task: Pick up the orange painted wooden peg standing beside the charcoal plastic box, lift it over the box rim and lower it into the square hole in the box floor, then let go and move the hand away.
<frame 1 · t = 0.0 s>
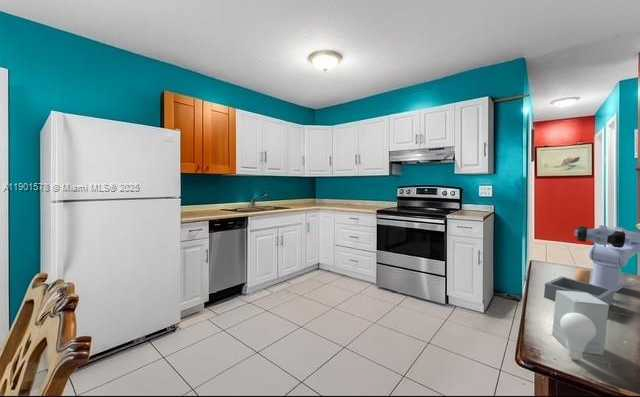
hand: (593, 236, 98), 22 cm above the table, tool horizontal, fingers open, 7 cm apart
supplement box: (575, 345, 71), on the table
peg: (580, 291, 105), on the table
box: (577, 300, 97), on the table
lightbulb: (573, 360, 66), on the table
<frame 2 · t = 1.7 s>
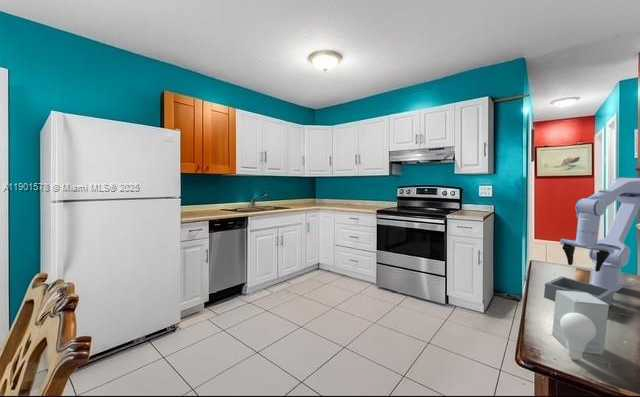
hand: (583, 267, 104), 9 cm above the table, tool pointing down, fingers open, 7 cm apart
nothing on the table moved.
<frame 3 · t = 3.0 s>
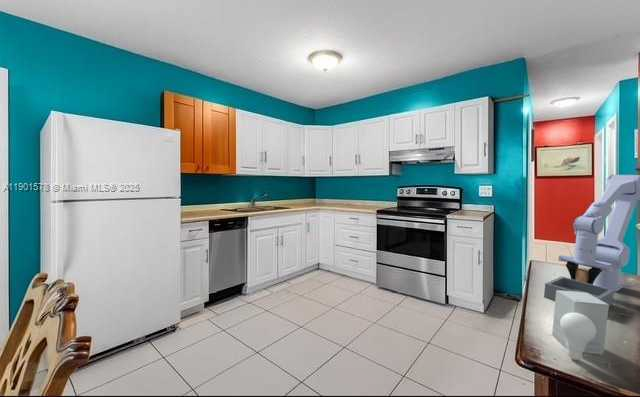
hand: (581, 284, 105), 2 cm above the table, tool pointing down, fingers closed on peg, 4 cm apart
peg: (580, 291, 105), on the table, touching gripper
everything else where it was.
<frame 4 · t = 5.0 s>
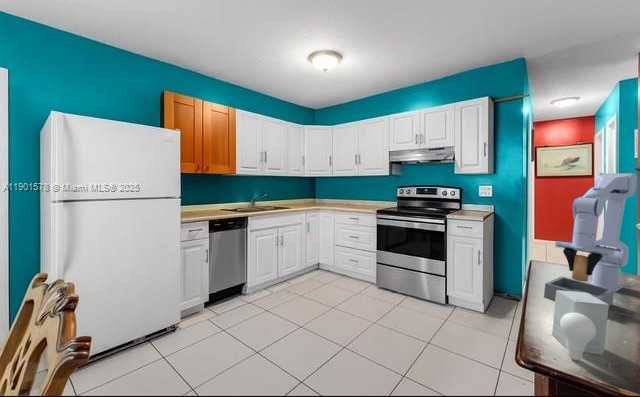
hand: (580, 272, 96), 10 cm above the table, tool pointing down, fingers closed on peg, 4 cm apart
peg: (579, 279, 96), point 8 cm above the table, touching gripper
everything else where it was.
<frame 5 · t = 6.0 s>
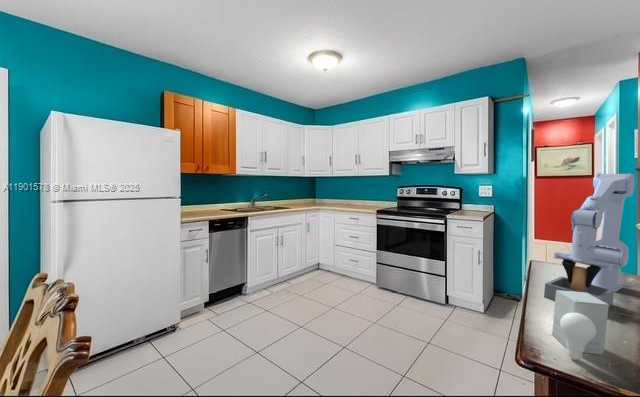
hand: (579, 284, 96), 6 cm above the table, tool pointing down, fingers closed on peg, 4 cm apart
peg: (578, 291, 96), point 3 cm above the table, touching gripper
everything else where it was.
when the fingers open (3 cm above the table, at t = 7.0 s): peg drops 1 cm, resting in box.
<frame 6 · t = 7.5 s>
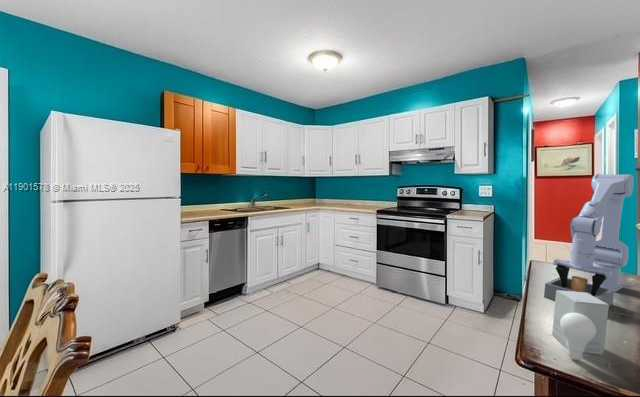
hand: (578, 291, 96), 3 cm above the table, tool pointing down, fingers open, 7 cm apart
peg: (577, 300, 97), resting in box
everything else where it was.
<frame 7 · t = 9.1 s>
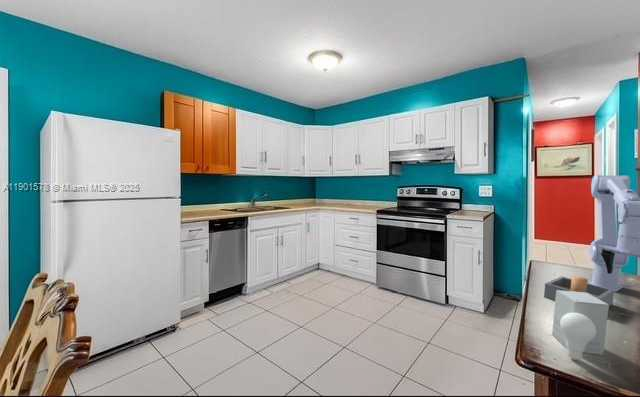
hand: (625, 276, 94), 9 cm above the table, tool pointing down, fingers open, 7 cm apart
nothing on the table moved.
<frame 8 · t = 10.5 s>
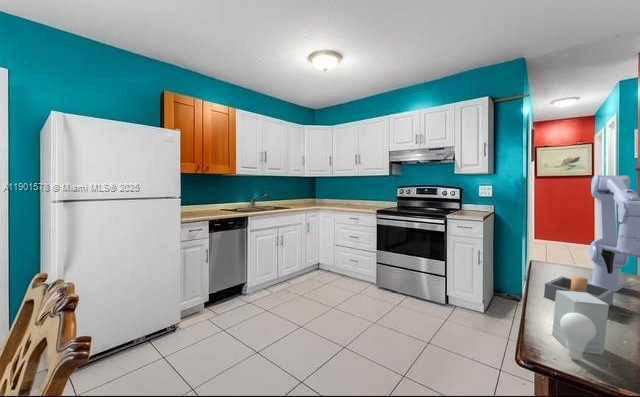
hand: (625, 276, 94), 9 cm above the table, tool pointing down, fingers open, 7 cm apart
nothing on the table moved.
at the end: peg 0.0 cm from the box (horizontally); peg resting in box; peg tilted 0° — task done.
